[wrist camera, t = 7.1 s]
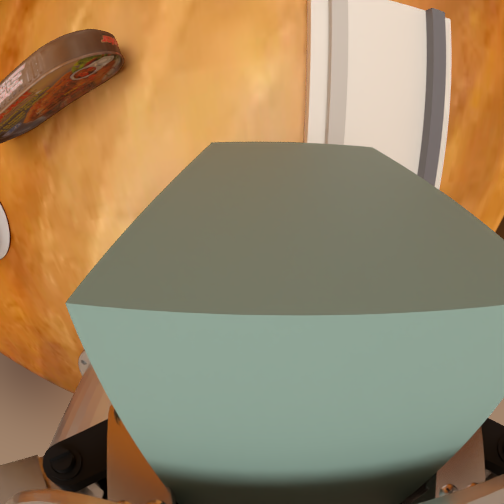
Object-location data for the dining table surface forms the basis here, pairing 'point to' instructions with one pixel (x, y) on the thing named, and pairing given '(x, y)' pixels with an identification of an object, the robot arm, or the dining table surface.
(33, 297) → the dining table surface
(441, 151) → the white railed tray
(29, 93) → the tin
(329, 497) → the tea box
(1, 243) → the teacup
